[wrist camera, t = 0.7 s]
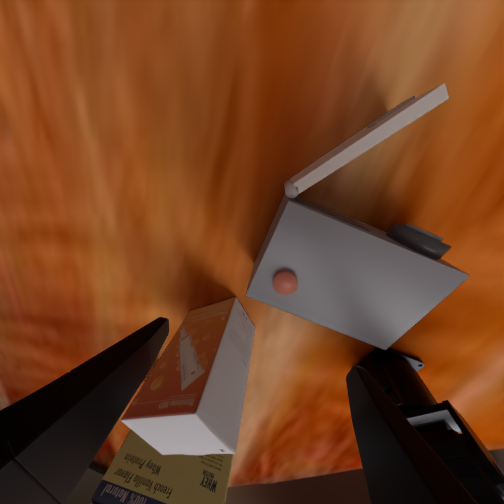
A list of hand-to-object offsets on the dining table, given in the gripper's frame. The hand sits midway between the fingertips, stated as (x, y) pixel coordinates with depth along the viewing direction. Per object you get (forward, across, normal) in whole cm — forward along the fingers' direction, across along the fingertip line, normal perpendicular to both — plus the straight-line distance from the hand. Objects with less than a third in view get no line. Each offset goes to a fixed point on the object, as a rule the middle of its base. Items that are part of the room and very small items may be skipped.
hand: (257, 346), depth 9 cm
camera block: (+13, -6, 0) cm, 15 cm away
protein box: (+13, +7, +34) cm, 37 cm away
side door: (+13, -3, -9) cm, 17 cm away
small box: (+13, +4, +13) cm, 19 cm away
